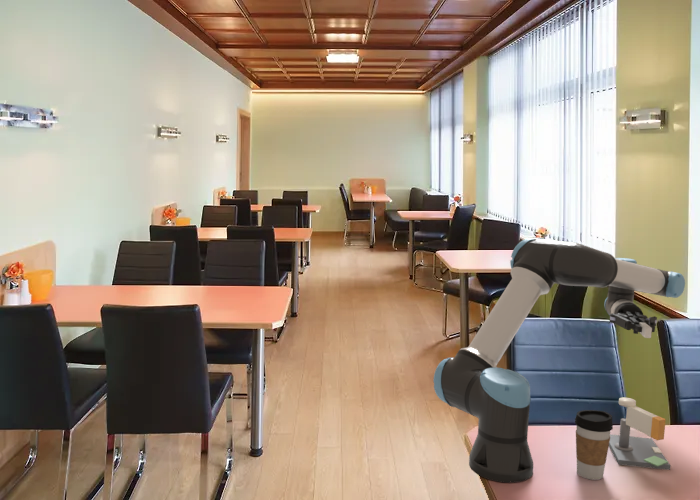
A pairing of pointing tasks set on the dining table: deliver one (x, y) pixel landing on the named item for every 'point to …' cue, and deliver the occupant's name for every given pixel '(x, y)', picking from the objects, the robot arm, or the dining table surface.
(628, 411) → the orange tipped swivel lever
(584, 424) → the coffee cup
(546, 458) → the dining table surface
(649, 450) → the tuner board
